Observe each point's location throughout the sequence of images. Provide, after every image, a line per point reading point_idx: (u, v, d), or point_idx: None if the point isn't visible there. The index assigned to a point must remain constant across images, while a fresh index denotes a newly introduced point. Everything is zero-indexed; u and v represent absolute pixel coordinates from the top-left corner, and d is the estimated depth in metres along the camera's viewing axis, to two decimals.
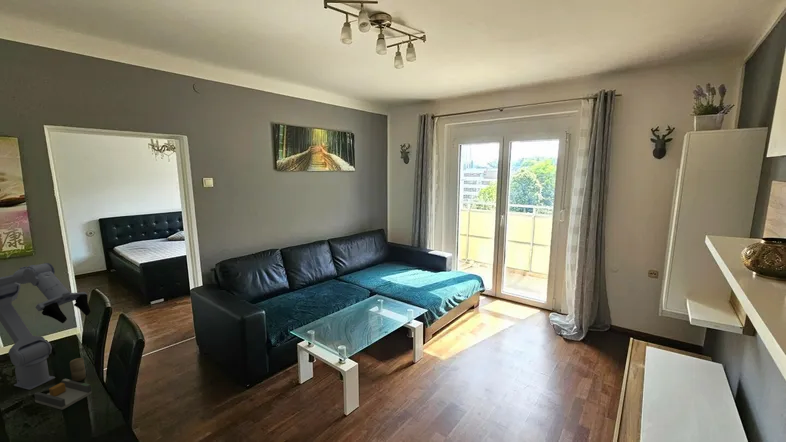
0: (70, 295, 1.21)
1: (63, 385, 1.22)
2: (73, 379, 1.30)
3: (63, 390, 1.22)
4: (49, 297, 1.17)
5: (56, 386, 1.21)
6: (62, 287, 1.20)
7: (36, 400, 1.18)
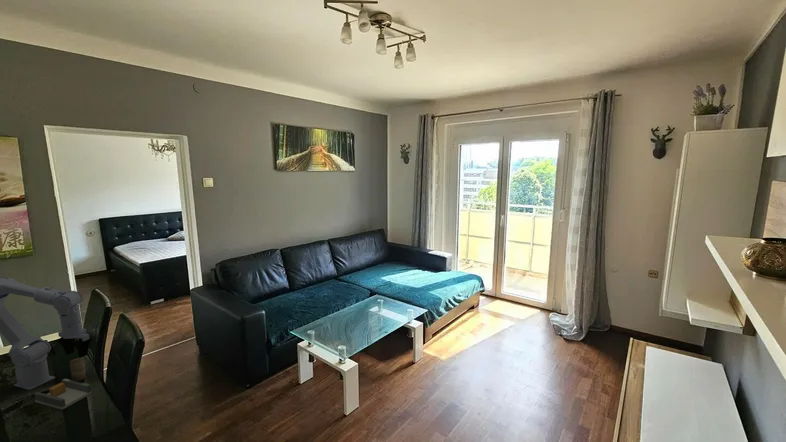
0: None
1: (63, 385, 1.22)
2: (73, 379, 1.30)
3: (63, 390, 1.22)
4: (78, 329, 1.28)
5: (56, 386, 1.21)
6: None
7: (36, 400, 1.18)
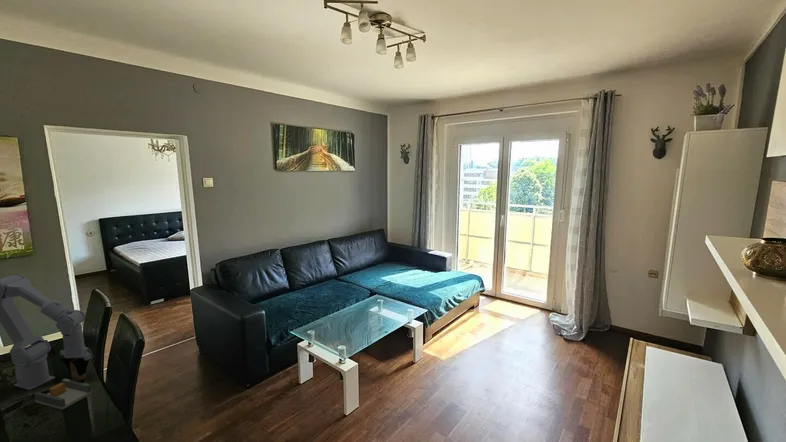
0: None
1: (63, 385, 1.22)
2: (73, 379, 1.30)
3: (63, 390, 1.22)
4: (80, 348, 1.30)
5: (56, 386, 1.21)
6: None
7: (36, 400, 1.18)
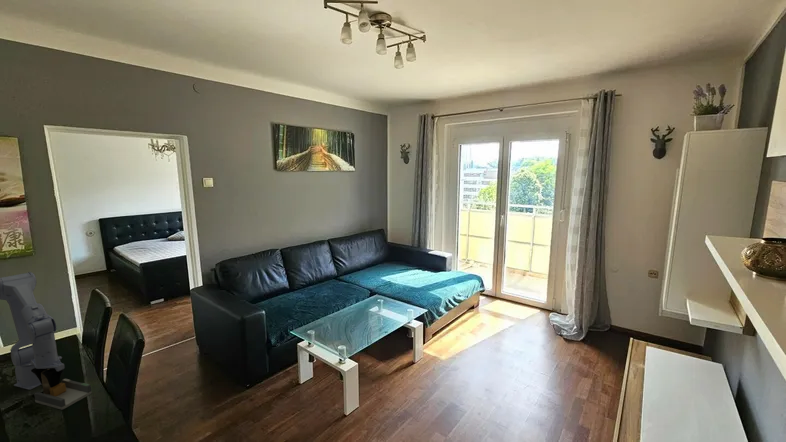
0: None
1: (63, 385, 1.22)
2: (44, 391, 1.20)
3: (64, 390, 1.22)
4: (52, 358, 1.20)
5: (56, 386, 1.21)
6: None
7: (36, 400, 1.18)
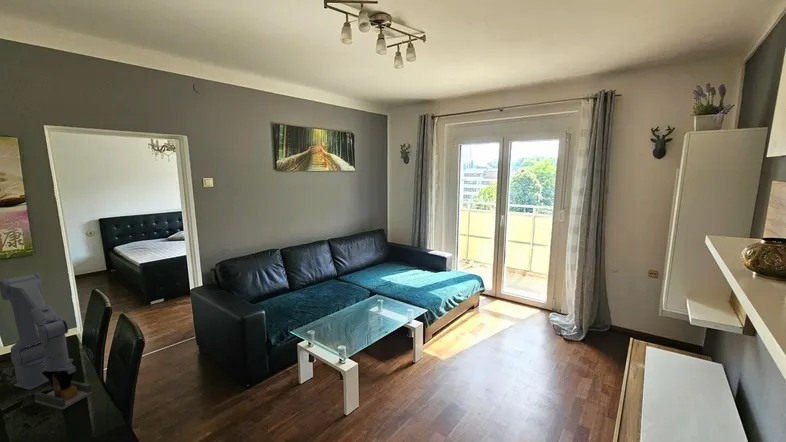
0: None
1: (75, 388, 1.21)
2: (56, 394, 1.19)
3: (75, 393, 1.21)
4: (63, 361, 1.18)
5: (68, 389, 1.19)
6: None
7: (36, 400, 1.18)
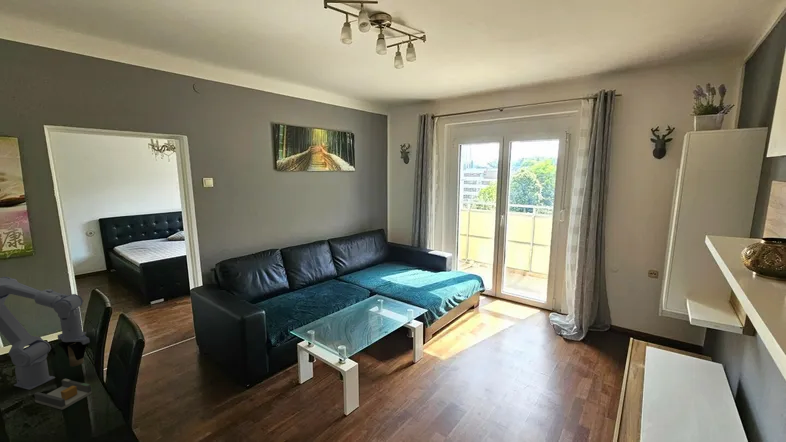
0: None
1: (75, 388, 1.21)
2: (71, 363, 1.29)
3: (75, 393, 1.21)
4: (78, 333, 1.29)
5: (68, 389, 1.19)
6: None
7: (36, 400, 1.18)
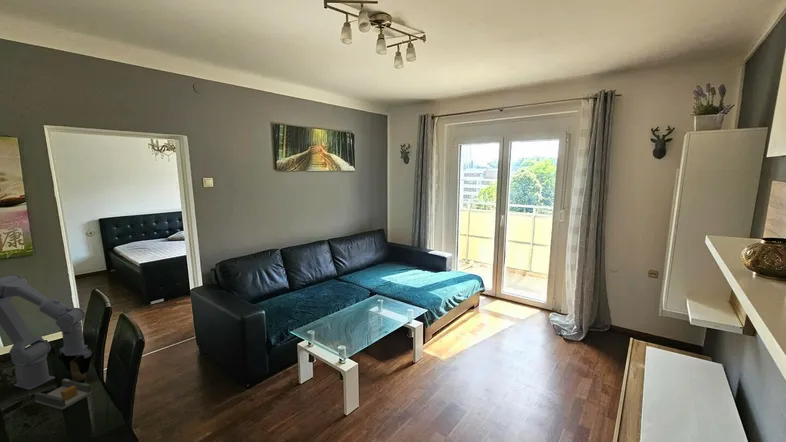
0: None
1: (75, 388, 1.21)
2: (73, 379, 1.30)
3: (75, 393, 1.21)
4: (80, 346, 1.30)
5: (68, 389, 1.19)
6: None
7: (36, 400, 1.18)
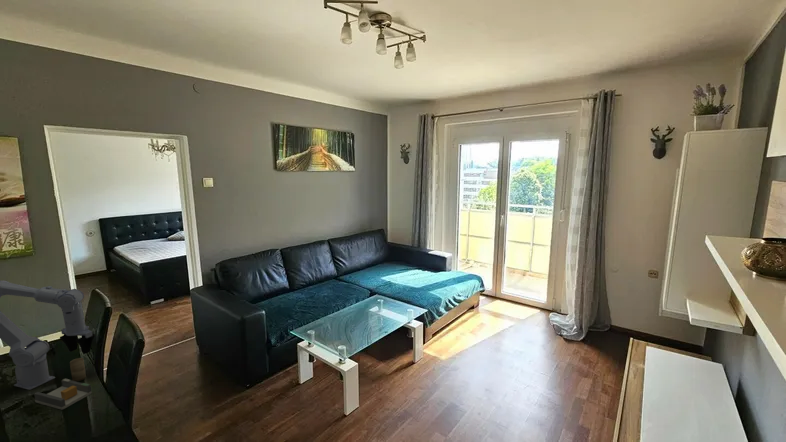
0: None
1: (75, 388, 1.21)
2: (73, 379, 1.30)
3: (75, 393, 1.21)
4: (81, 326, 1.31)
5: (68, 389, 1.19)
6: None
7: (36, 400, 1.18)
